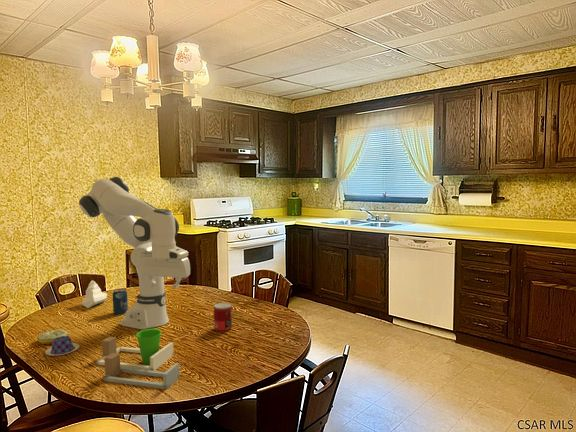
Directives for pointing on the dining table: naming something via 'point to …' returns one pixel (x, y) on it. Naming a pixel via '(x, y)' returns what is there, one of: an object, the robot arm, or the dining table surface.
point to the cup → (148, 343)
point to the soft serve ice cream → (93, 295)
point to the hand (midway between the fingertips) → (165, 287)
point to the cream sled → (155, 359)
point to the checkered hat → (61, 346)
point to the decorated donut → (51, 336)
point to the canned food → (222, 317)
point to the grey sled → (114, 369)
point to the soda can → (120, 301)
